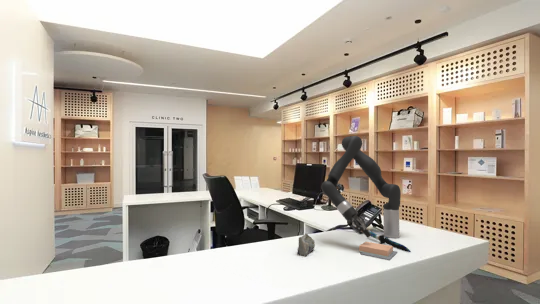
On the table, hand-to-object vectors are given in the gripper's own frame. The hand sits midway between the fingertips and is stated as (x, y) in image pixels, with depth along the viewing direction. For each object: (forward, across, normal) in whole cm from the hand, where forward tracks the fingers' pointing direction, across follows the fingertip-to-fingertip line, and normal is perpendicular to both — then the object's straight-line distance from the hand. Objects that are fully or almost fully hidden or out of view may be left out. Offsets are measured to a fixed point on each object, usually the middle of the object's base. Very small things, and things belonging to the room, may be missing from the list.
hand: (369, 236), depth 143 cm
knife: (+8, +18, +3) cm, 20 cm away
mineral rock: (-12, -22, +23) cm, 34 cm away
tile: (+1, 0, +7) cm, 7 cm away
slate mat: (+9, 0, +2) cm, 9 cm away
